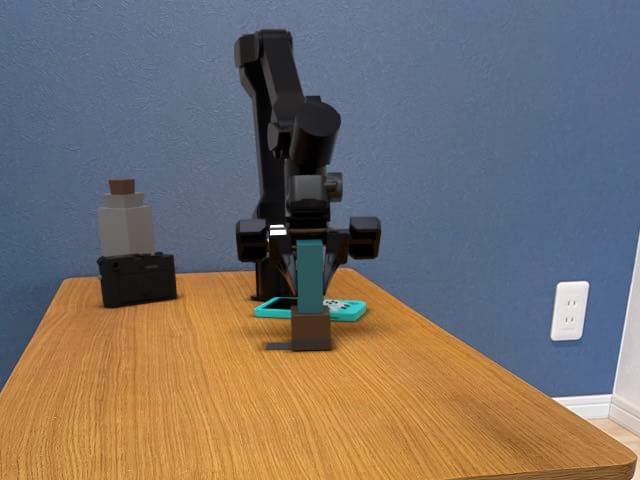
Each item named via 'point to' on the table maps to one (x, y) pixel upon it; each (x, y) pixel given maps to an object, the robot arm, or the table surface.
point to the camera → (137, 279)
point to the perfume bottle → (125, 221)
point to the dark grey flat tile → (279, 345)
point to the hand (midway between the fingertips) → (310, 294)
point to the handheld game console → (337, 308)
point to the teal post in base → (310, 300)
